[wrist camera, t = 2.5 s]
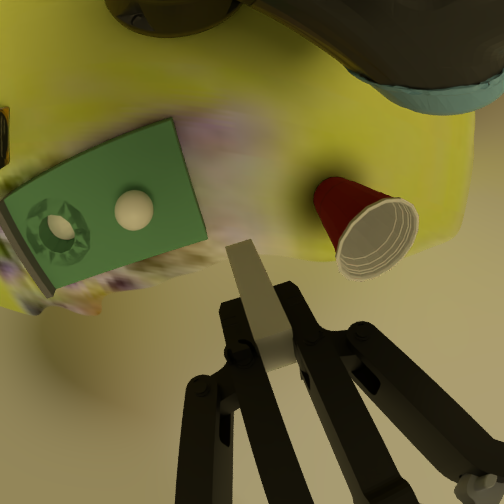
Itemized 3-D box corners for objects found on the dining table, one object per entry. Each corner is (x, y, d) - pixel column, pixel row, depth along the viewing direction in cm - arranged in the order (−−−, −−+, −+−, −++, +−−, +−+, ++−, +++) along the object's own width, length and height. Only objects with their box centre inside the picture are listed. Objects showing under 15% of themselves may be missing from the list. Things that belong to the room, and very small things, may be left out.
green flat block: (8, 193, 24) (-8, 209, 20) (172, 116, 26) (170, 122, 22) (55, 277, 32) (47, 298, 29) (205, 226, 34) (209, 246, 31)
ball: (112, 191, 26) (104, 208, 23) (147, 178, 26) (143, 193, 23) (126, 223, 28) (121, 243, 25) (160, 212, 28) (158, 230, 25)
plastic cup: (286, 230, 37) (324, 289, 28) (305, 153, 32) (360, 190, 22) (350, 233, 41) (396, 283, 31) (373, 167, 35) (432, 205, 25)
